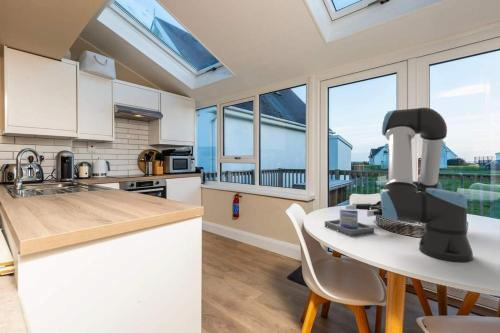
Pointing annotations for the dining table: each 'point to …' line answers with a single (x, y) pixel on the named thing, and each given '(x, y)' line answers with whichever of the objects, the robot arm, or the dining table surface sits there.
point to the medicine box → (349, 218)
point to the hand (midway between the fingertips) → (356, 210)
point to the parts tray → (350, 231)
